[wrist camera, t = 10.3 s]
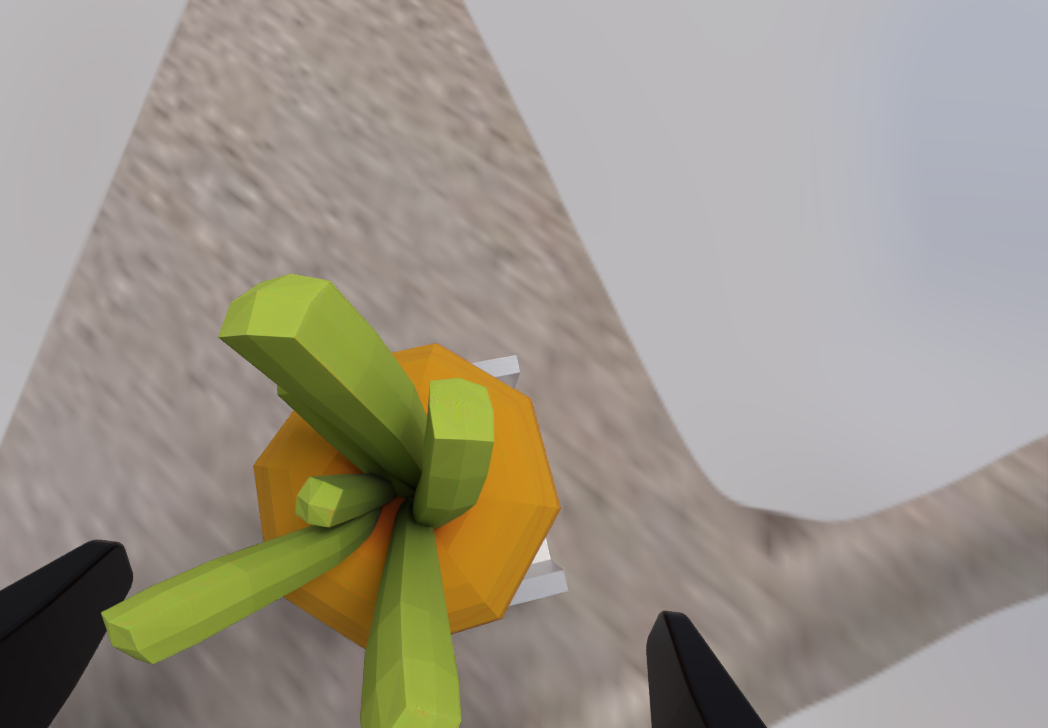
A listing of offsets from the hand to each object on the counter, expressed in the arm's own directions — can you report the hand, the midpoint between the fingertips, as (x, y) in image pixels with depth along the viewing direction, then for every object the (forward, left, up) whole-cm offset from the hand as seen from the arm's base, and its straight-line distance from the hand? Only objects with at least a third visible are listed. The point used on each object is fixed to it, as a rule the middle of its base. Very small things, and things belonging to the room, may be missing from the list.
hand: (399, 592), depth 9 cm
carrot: (+2, -1, -10) cm, 10 cm away
